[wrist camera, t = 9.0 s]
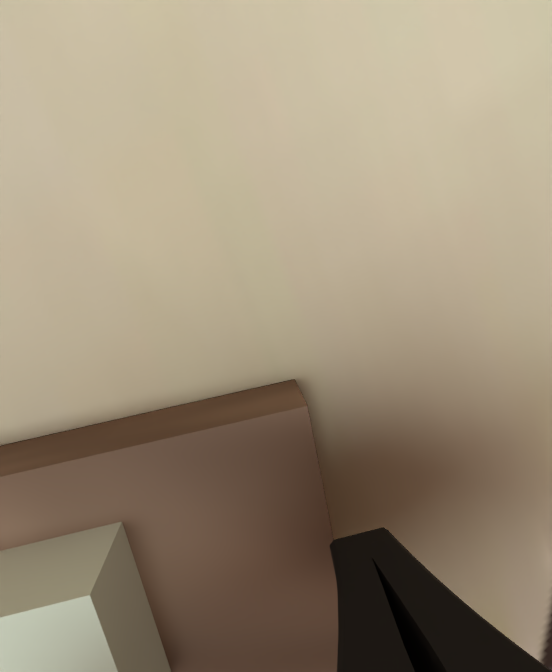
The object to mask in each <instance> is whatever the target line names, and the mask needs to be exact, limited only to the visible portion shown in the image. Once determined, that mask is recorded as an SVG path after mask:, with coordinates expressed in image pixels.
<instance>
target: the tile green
mask: <svg viewBox="0 0 552 672" xmlns="http://www.w3.org/2000/svg"><path fill="white" fill-rule="evenodd" d="M0 672H171V669H170V666H169V663H168V660H167V657H166V654H165V651H164V648H163V645H162V642H161V639H160V636H159V633H158V630H157V627H156V624H155V621H154V618H153V614H152V611H151V608H150V605H149V602H148V599H147V596H146V593H145V590H144V587H143V584H142V581H141V578H140V575H139V572H138V569H137V566H136V563H135V560H134V557H133V554H132V551H131V548H130V545H129V542H128V538H127V535H126V532H125V529H124V526H123V523H122V522H118V523H114V524H109V525H105V526H101V527H97V528H93V529H89V530H85V531H81V532H76V533H72V534H68V535H64V536H60V537H56V538H52V539H48V540H43V541H39V542H35V543H31V544H27V545H23V546H19V547H15V548H10V549H6V550H2V551H0Z"/></svg>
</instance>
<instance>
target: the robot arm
mask: <svg viewBox="0 0 552 672" xmlns="http://www.w3.org/2000/svg"><path fill="white" fill-rule="evenodd" d="M330 551H331V556H332V561H333V566H334V571H335V576H336V581H337V593H338V657H337V672H552V670H550V669H549V668H547V667H546V666H545V665H543V664H542V663H540V662H539V661H538V660H536V659H535V658H534V657H532V656H531V655H530V654H528V653H527V652H526V651H524V650H523V649H522V648H520V647H519V646H518V645H516V644H515V643H514V642H512V641H511V640H510V639H509V638H507V637H506V636H505V635H503V634H502V633H501V632H500V631H498V630H497V629H496V628H495V627H493V626H492V625H491V624H490V623H488V622H487V621H486V620H485V619H483V618H482V617H481V616H480V615H479V614H477V613H476V612H475V611H474V610H473V609H471V608H470V607H469V606H468V605H467V604H465V603H464V602H463V601H462V600H461V599H460V598H459V597H457V596H456V595H455V594H454V593H453V592H452V591H451V590H449V589H448V588H447V587H446V586H445V585H444V584H443V583H441V582H440V581H439V580H438V579H437V578H436V577H435V576H434V575H433V574H432V573H430V572H429V571H428V570H427V569H426V568H425V567H424V566H423V565H422V564H421V563H420V562H419V561H418V560H417V559H416V558H415V557H414V556H413V555H412V554H411V553H410V552H409V551H408V550H407V549H406V548H405V547H404V546H403V545H402V544H401V543H400V542H399V541H398V540H397V539H396V538H395V537H394V536H393V535H392V534H391V533H390V532H389V531H388V530H387V529H385V528H379V529H375V530H372V531H368V532H364V533H360V534H356V535H352V536H348V537H344V538H340V539H336V540H333V541H332V543H331V544H330Z"/></svg>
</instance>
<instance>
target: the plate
mask: <svg viewBox="0 0 552 672" xmlns="http://www.w3.org/2000/svg"><path fill="white" fill-rule="evenodd" d="M118 522H122V523H123V526H124V529H125V532H126V535H127V538H128V542H129V545H130V548H131V551H132V554H133V557H134V560H135V563H136V566H137V569H138V572H139V575H140V578H141V581H142V584H143V587H144V590H145V593H146V596H147V599H148V602H149V605H150V608H151V611H152V614H153V618H154V621H155V624H156V627H157V630H158V633H159V636H160V639H161V642H162V645H163V648H164V651H165V654H166V657H167V660H168V663H169V666H170V669H171V672H337V657H338V593H337V581H336V576H335V571H334V566H333V561H332V556H331V551H330V544H331V543H332V541H333V540H334V539H333V534H332V529H331V524H330V519H329V513H328V508H327V503H326V498H325V493H324V488H323V483H322V478H321V473H320V468H319V462H318V457H317V452H316V447H315V442H314V437H313V432H312V427H311V422H310V416H309V411H308V406H307V404H306V402H305V400H304V398H303V396H302V394H301V392H300V390H299V388H298V386H297V383H296V381H295V379H294V380H290V381H285V382H281V383H276V384H272V385H268V386H263V387H259V388H254V389H250V390H246V391H241V392H237V393H232V394H228V395H223V396H219V397H215V398H210V399H206V400H201V401H197V402H193V403H188V404H184V405H179V406H175V407H170V408H166V409H162V410H157V411H153V412H148V413H144V414H140V415H135V416H131V417H126V418H122V419H118V420H113V421H109V422H104V423H100V424H95V425H91V426H87V427H82V428H78V429H73V430H69V431H65V432H60V433H56V434H51V435H47V436H42V437H38V438H34V439H29V440H25V441H20V442H16V443H12V444H7V445H3V446H0V551H2V550H6V549H10V548H15V547H19V546H23V545H27V544H31V543H35V542H39V541H43V540H48V539H52V538H56V537H60V536H64V535H68V534H72V533H76V532H81V531H85V530H89V529H93V528H97V527H101V526H105V525H109V524H114V523H118Z"/></svg>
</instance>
